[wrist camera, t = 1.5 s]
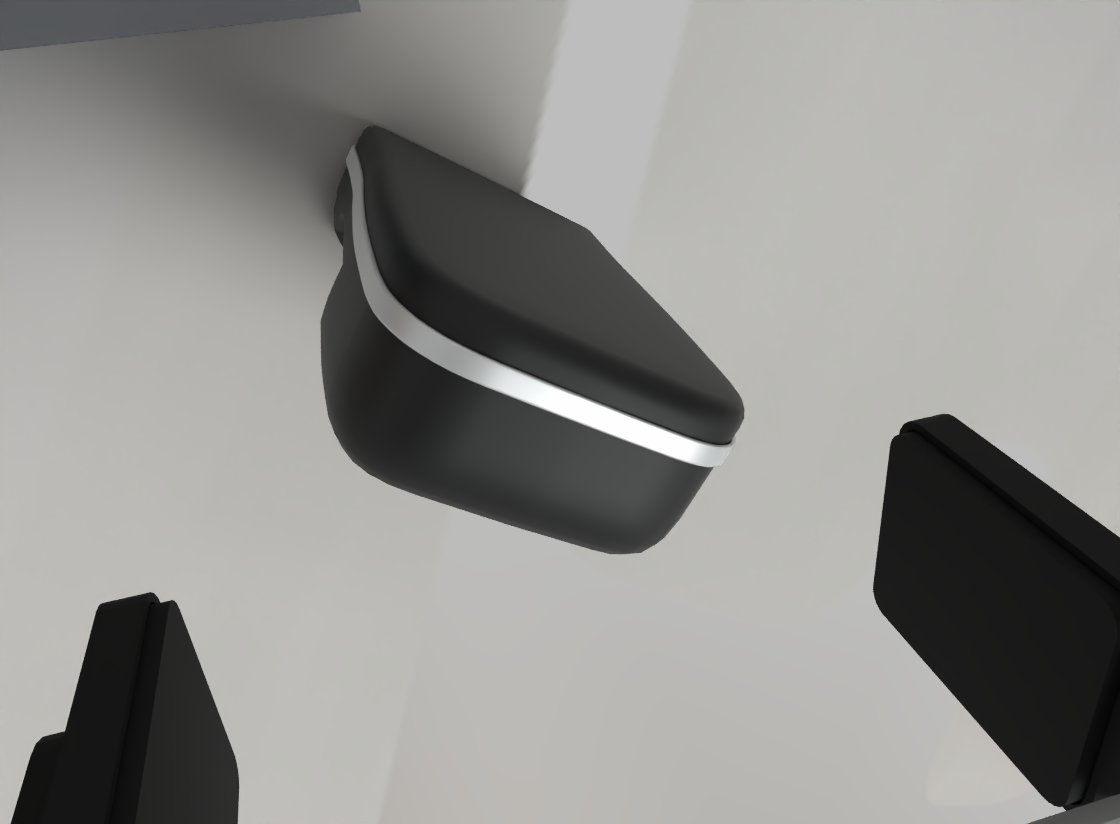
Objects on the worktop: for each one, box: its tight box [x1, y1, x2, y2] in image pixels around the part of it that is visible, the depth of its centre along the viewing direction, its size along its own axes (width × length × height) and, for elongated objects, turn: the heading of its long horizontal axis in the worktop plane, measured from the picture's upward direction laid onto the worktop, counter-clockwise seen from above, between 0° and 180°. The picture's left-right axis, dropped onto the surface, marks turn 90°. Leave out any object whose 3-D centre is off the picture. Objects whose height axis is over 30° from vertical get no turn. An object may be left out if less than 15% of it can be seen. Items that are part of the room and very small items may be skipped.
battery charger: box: [321, 126, 744, 554], centre depth 19 cm, size 7×4×11 cm, turn 61°
